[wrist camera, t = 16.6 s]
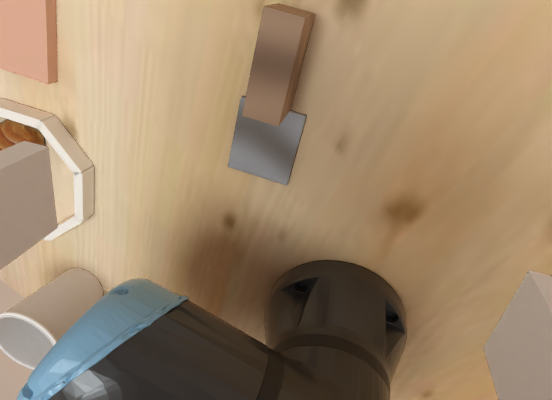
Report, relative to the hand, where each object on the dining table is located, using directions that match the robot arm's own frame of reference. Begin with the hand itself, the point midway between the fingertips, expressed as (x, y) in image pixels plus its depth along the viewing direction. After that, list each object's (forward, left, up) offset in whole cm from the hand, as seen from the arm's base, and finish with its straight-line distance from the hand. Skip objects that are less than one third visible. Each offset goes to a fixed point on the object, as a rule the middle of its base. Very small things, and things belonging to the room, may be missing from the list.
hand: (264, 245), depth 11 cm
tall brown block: (-4, +5, -26) cm, 27 cm away
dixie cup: (-34, +24, -26) cm, 49 cm away
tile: (0, +30, -26) cm, 39 cm away
